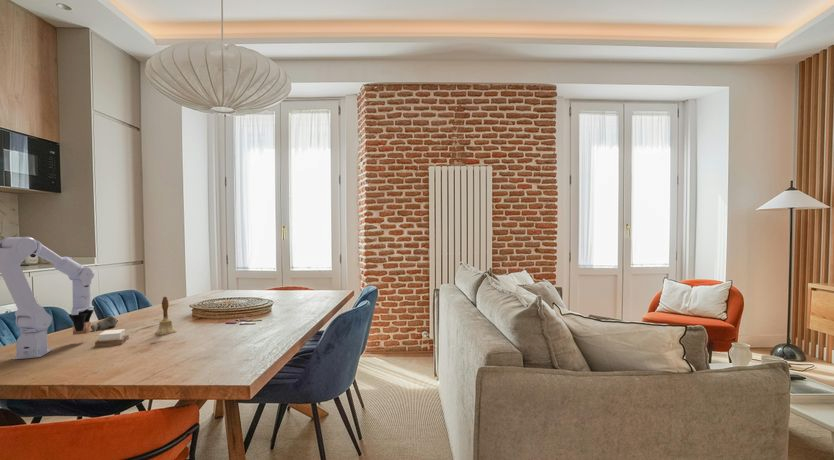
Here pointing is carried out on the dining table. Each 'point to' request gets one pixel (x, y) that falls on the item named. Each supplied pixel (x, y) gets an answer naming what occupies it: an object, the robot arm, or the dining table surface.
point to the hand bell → (165, 321)
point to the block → (85, 330)
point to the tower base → (112, 341)
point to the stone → (105, 323)
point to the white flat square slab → (111, 335)
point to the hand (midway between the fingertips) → (81, 329)
